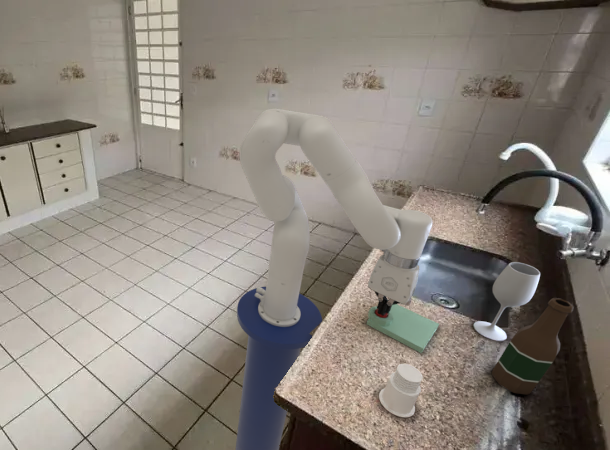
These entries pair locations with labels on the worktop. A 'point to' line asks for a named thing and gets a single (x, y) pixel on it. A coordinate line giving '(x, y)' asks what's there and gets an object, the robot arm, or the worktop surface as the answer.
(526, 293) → the wineglass
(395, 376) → the downlight
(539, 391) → the worktop surface
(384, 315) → the button
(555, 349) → the beer bottle
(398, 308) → the scale
